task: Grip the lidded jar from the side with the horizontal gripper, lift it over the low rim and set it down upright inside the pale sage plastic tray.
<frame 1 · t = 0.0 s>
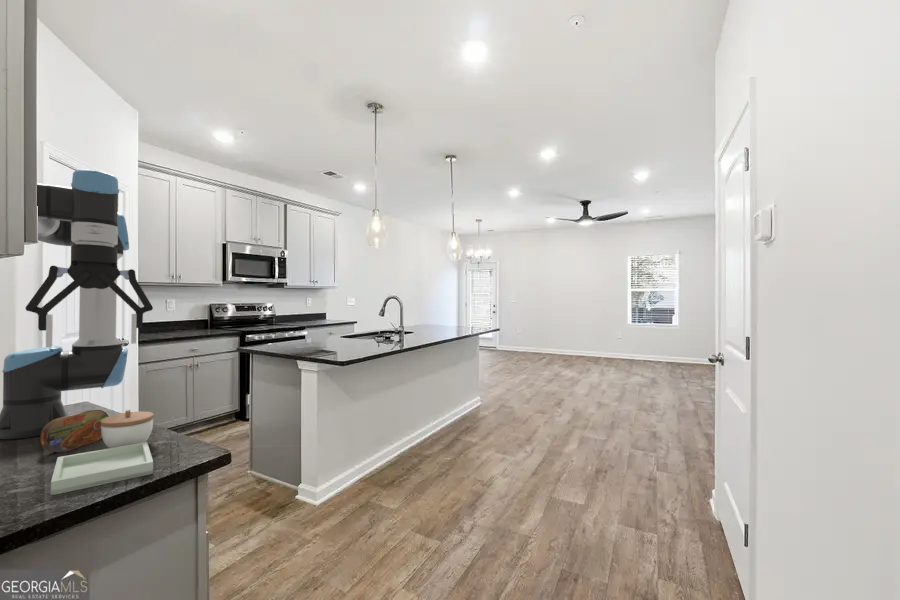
hand: (93, 345, 88), 28 cm above the worktop, tool pointing down, fingers open, 13 cm apart
tray: (104, 471, 90), on the worktop
tin: (76, 447, 106), on the worktop
lidded jar: (127, 448, 105), on the worktop
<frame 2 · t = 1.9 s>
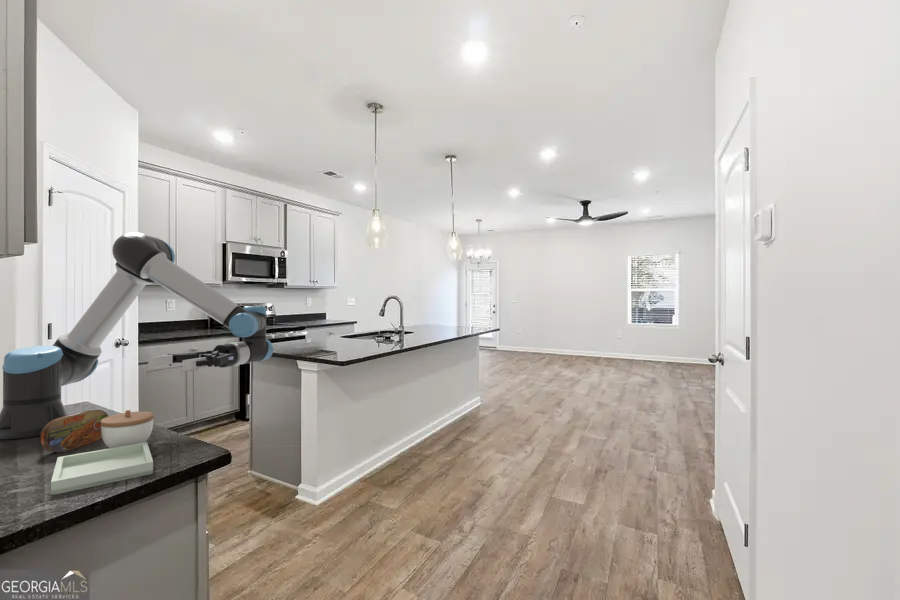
hand: (165, 363, 114), 20 cm above the worktop, tool horizontal, fingers open, 13 cm apart
nothing on the worktop moved.
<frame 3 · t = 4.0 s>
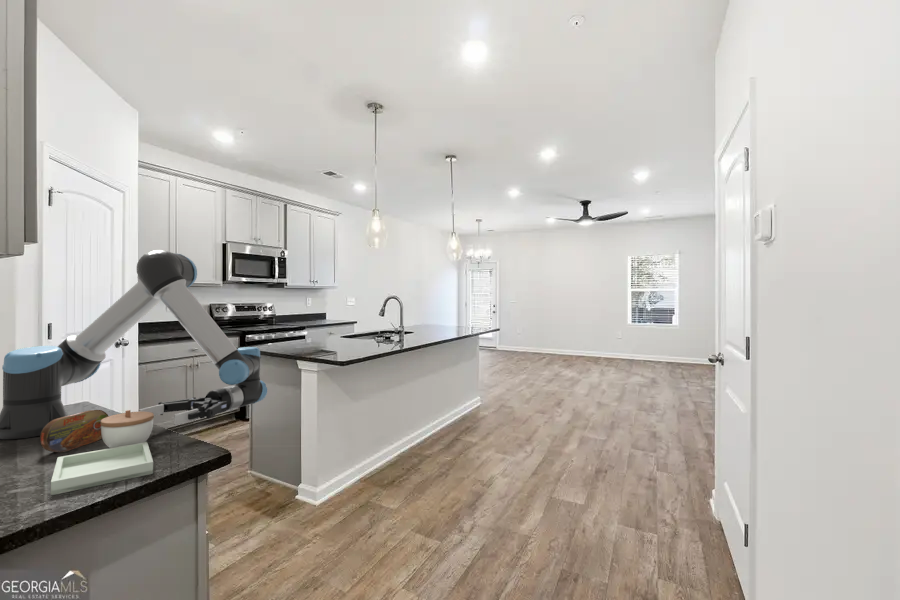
hand: (156, 417, 112), 6 cm above the worktop, tool horizontal, fingers open, 13 cm apart
nothing on the worktop moved.
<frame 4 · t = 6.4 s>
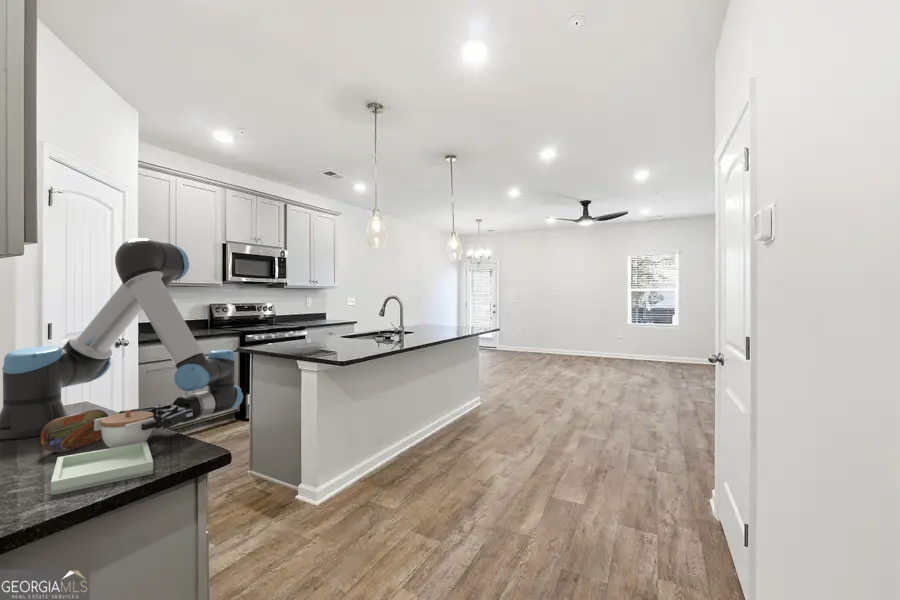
hand: (110, 428, 101), 6 cm above the worktop, tool horizontal, fingers closed on lidded jar, 11 cm apart
lidded jar: (127, 447, 105), on the worktop, touching gripper
everything else where it was.
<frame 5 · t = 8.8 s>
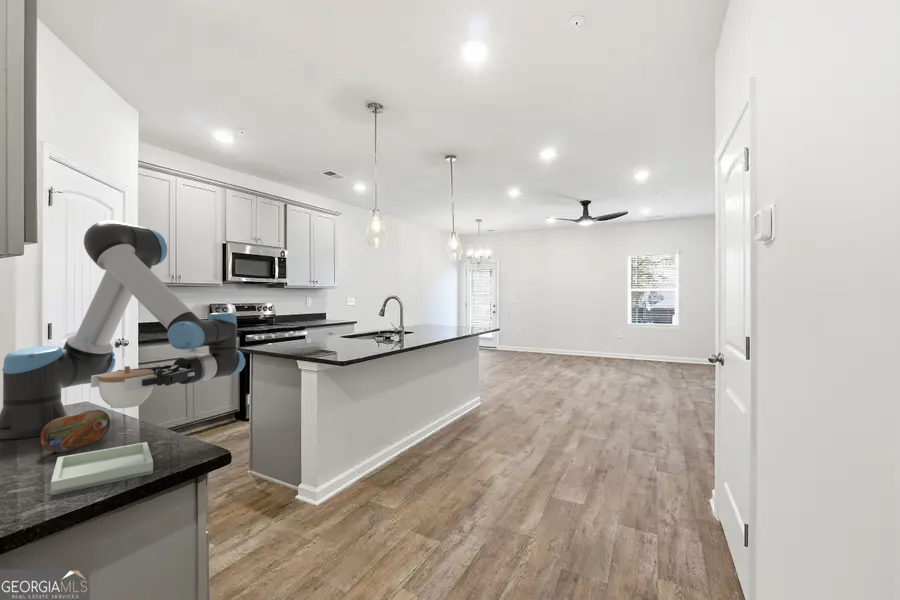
hand: (108, 383, 96), 18 cm above the worktop, tool horizontal, fingers closed on lidded jar, 11 cm apart
lidded jar: (126, 405, 100), point 12 cm above the worktop, touching gripper
everything else where it was.
when the fingers open (9 cm above the worktop, at t = 11.7 s): lidded jar drops 2 cm, resting on tray.
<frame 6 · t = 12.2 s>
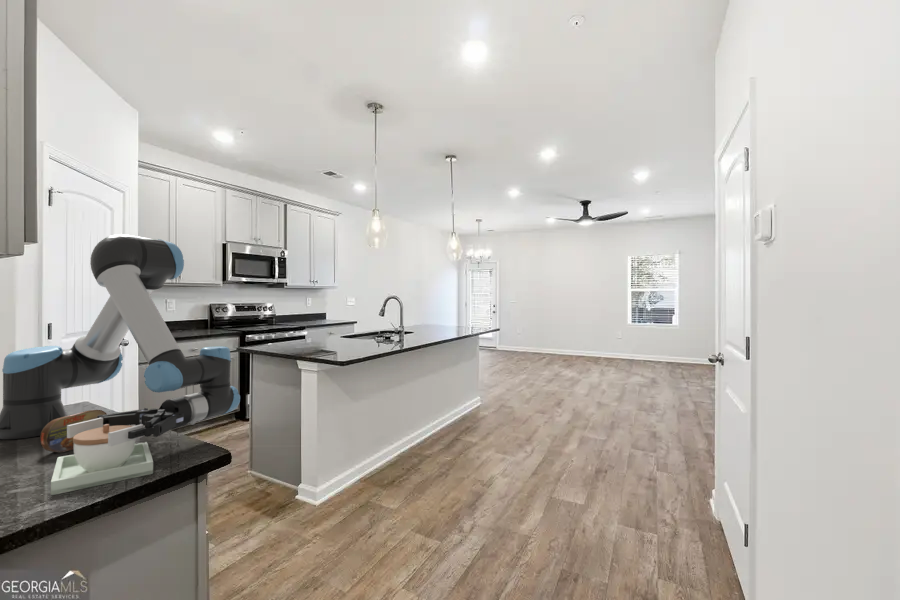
hand: (87, 435, 87), 9 cm above the worktop, tool horizontal, fingers open, 13 cm apart
lidded jar: (105, 468, 90), point 1 cm above the worktop, touching tray
everything else where it was.
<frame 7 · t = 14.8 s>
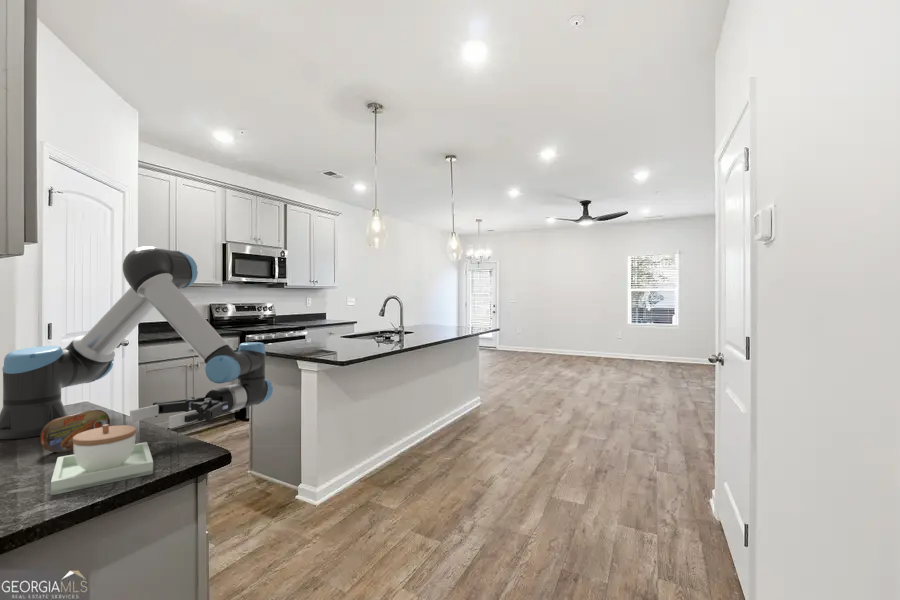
hand: (149, 419, 99), 9 cm above the worktop, tool horizontal, fingers open, 13 cm apart
nothing on the worktop moved.
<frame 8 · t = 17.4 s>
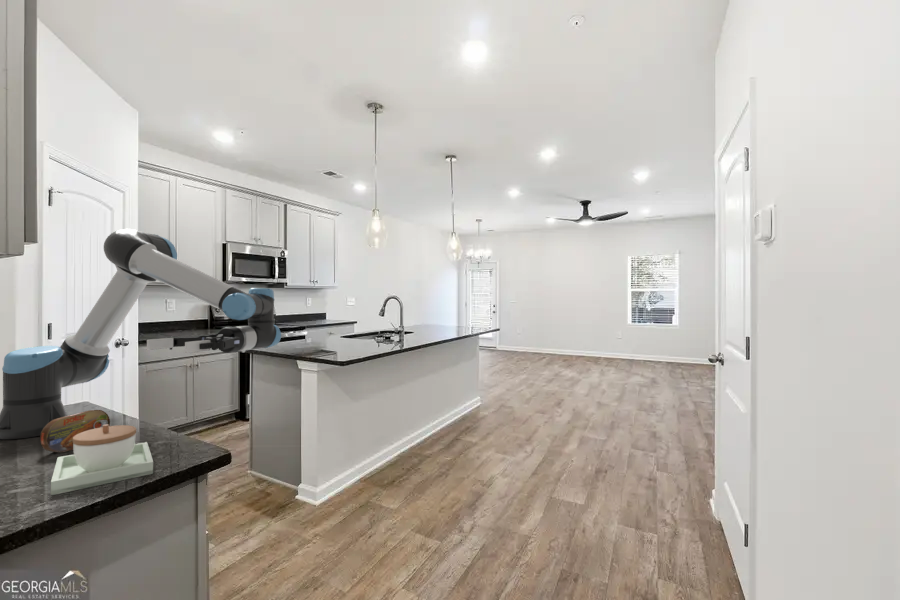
hand: (166, 346, 104), 26 cm above the worktop, tool horizontal, fingers open, 13 cm apart
nothing on the worktop moved.
at the end: lidded jar 0.1 cm off-centre on the tray, point 0.6 cm above the tray's base; lidded jar tilted 0°; the gripper is holding nothing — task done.
